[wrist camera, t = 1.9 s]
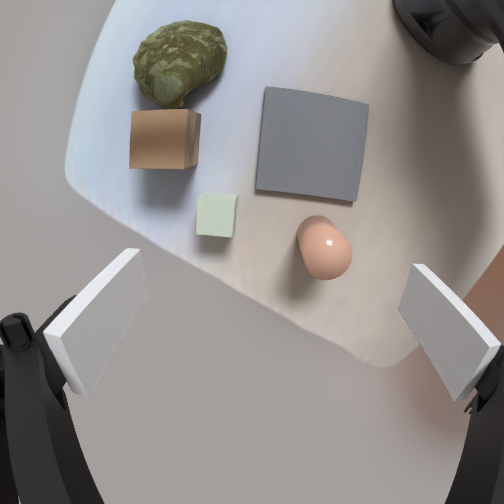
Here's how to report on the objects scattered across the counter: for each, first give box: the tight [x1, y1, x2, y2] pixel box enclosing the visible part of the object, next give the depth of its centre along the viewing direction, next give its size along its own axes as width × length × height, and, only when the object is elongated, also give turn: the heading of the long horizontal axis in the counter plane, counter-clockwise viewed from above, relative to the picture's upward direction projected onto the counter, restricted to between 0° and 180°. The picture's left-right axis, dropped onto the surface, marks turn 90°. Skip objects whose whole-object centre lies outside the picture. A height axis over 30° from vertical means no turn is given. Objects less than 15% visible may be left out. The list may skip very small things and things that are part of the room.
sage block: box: [196, 192, 238, 237], centre depth 31 cm, size 4×4×4 cm
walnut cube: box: [129, 109, 201, 169], centre depth 27 cm, size 6×6×6 cm
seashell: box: [133, 20, 227, 109], centre depth 24 cm, size 10×7×10 cm
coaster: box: [256, 86, 369, 202], centre depth 29 cm, size 12×12×1 cm
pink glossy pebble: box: [297, 216, 352, 280], centre depth 30 cm, size 5×5×7 cm
